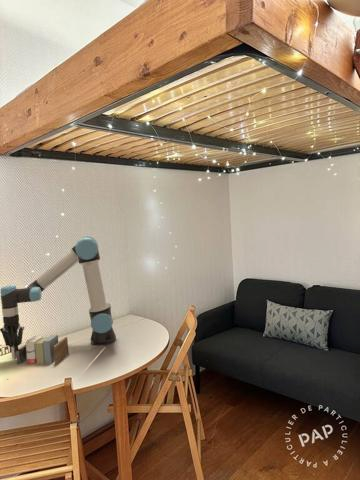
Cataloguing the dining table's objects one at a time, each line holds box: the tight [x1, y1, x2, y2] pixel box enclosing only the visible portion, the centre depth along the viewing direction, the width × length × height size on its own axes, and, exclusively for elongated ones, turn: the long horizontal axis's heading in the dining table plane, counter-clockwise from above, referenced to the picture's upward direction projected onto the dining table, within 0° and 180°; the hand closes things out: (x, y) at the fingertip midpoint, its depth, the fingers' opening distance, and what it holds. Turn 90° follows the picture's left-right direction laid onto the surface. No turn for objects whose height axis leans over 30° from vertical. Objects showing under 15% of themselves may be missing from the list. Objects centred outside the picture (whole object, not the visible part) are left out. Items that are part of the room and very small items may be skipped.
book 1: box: [35, 336, 49, 365], centre depth 175 cm, size 4×8×11 cm, turn 173°
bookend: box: [16, 344, 27, 365], centre depth 177 cm, size 2×9×7 cm, turn 173°
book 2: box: [43, 334, 59, 365], centre depth 175 cm, size 4×9×12 cm, turn 173°
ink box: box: [25, 335, 44, 365], centre depth 176 cm, size 9×5×12 cm, turn 172°
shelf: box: [53, 336, 70, 366], centre depth 176 cm, size 23×13×11 cm, turn 83°
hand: (15, 358), depth 177 cm, fingers closed
